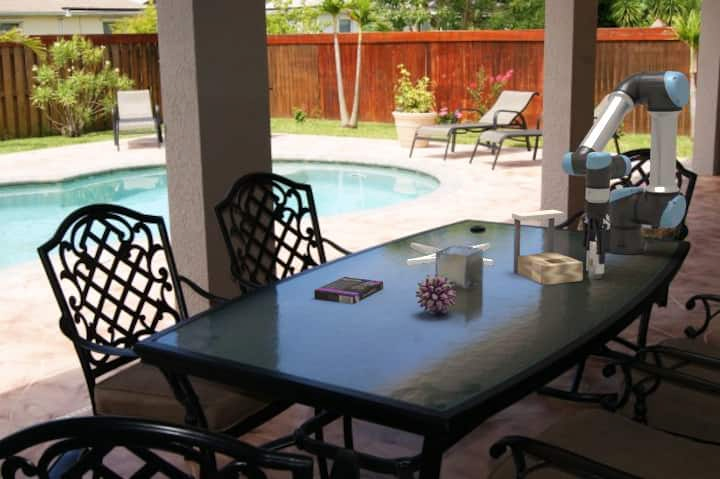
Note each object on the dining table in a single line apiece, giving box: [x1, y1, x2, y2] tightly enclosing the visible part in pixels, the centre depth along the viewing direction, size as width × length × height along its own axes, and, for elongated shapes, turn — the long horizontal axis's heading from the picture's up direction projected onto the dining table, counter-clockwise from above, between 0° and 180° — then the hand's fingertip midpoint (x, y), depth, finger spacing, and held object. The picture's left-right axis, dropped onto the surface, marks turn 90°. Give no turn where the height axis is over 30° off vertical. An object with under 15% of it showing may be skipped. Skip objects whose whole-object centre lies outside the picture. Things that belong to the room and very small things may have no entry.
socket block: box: [517, 251, 584, 286], centre depth 303 cm, size 14×17×6 cm
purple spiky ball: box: [415, 272, 458, 315], centre depth 263 cm, size 12×12×12 cm
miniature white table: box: [511, 209, 565, 274], centre depth 309 cm, size 16×6×20 cm, turn 110°
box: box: [313, 276, 384, 305], centre depth 287 cm, size 14×4×20 cm
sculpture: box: [406, 242, 494, 267], centre depth 337 cm, size 30×3×30 cm
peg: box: [588, 239, 602, 280], centre depth 301 cm, size 4×4×12 cm
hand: (595, 271), depth 302 cm, fingers open, 4 cm apart
